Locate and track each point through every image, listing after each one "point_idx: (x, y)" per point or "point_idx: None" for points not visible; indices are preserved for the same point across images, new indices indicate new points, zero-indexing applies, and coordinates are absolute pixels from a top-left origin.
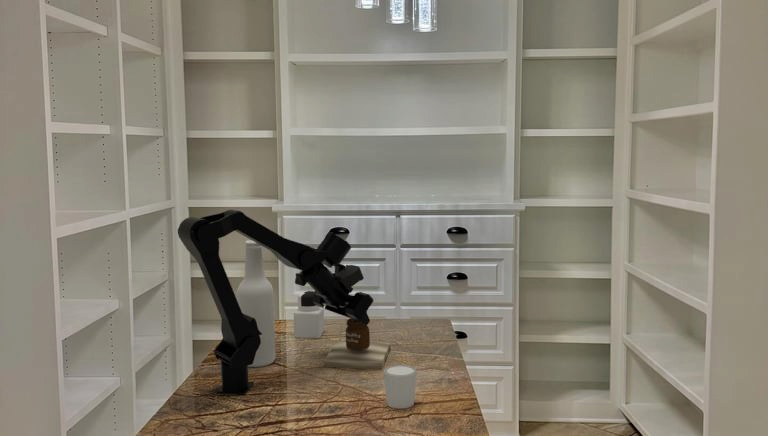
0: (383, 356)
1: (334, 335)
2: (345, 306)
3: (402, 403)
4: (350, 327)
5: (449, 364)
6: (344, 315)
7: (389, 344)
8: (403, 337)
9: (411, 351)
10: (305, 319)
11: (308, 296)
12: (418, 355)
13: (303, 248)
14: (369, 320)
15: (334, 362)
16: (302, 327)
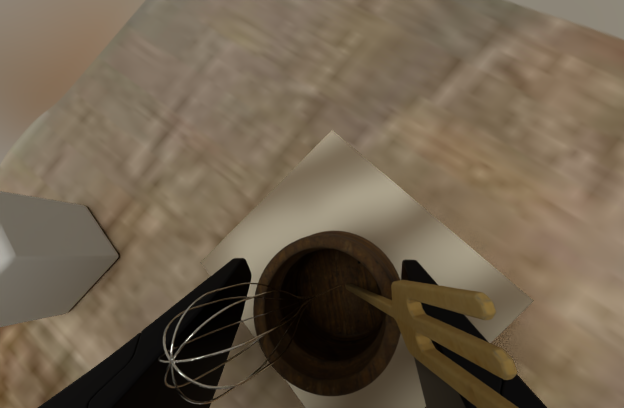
0: (456, 240)
1: (131, 204)
2: (160, 392)
3: None
4: (337, 370)
5: (614, 70)
6: (220, 371)
7: (346, 142)
8: (276, 56)
9: (403, 102)
10: (9, 298)
11: None
12: (454, 105)
13: None
14: (421, 268)
15: None
16: (42, 301)
